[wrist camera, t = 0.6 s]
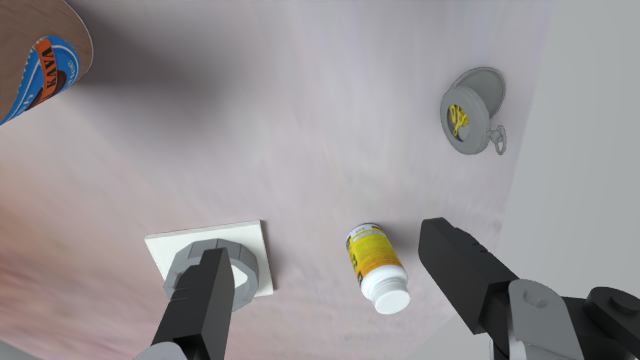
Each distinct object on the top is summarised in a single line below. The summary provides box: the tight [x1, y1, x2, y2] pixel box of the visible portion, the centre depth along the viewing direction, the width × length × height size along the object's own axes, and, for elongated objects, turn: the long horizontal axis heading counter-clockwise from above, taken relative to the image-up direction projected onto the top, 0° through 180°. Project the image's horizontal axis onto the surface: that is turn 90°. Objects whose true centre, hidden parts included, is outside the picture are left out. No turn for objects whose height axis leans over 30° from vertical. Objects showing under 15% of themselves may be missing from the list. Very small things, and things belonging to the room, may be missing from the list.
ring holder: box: [144, 220, 274, 312], centre depth 34 cm, size 13×13×4 cm
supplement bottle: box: [346, 224, 410, 314], centre depth 33 cm, size 6×6×10 cm
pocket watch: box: [440, 67, 506, 155], centre depth 25 cm, size 8×8×10 cm
